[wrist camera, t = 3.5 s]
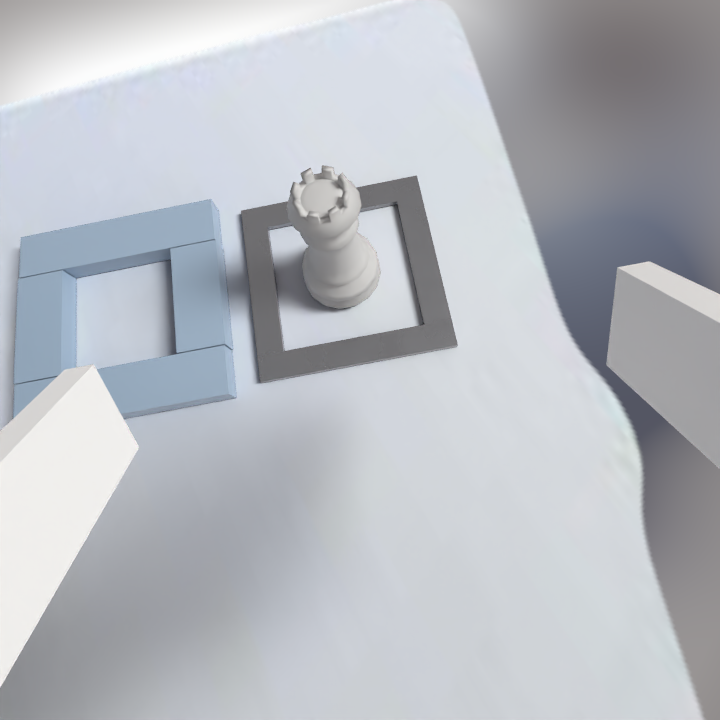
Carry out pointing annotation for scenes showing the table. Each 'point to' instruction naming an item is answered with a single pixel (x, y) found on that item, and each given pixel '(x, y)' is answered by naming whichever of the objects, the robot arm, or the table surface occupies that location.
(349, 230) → the rook chess piece
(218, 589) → the table surface
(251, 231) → the bezel
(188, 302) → the socket
